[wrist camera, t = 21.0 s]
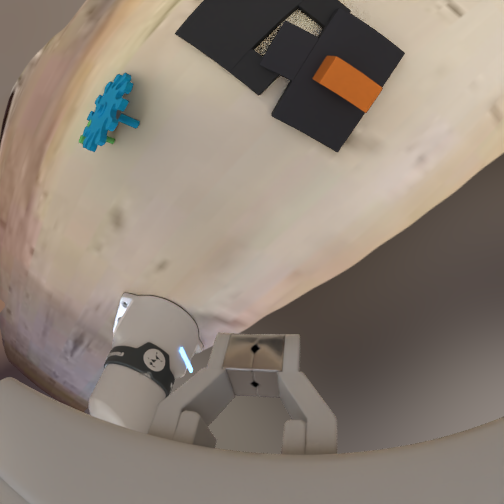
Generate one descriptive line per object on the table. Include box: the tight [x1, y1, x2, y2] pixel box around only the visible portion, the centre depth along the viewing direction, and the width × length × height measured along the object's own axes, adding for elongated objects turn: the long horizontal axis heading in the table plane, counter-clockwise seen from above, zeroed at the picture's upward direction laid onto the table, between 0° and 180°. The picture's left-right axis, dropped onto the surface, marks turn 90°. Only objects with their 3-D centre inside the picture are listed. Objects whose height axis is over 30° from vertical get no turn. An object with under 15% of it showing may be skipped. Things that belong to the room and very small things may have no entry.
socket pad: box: [175, 0, 350, 95], centre depth 21 cm, size 14×12×2 cm
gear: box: [79, 73, 140, 152], centre depth 28 cm, size 11×6×10 cm
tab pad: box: [259, 7, 405, 152], centre depth 21 cm, size 14×12×6 cm
